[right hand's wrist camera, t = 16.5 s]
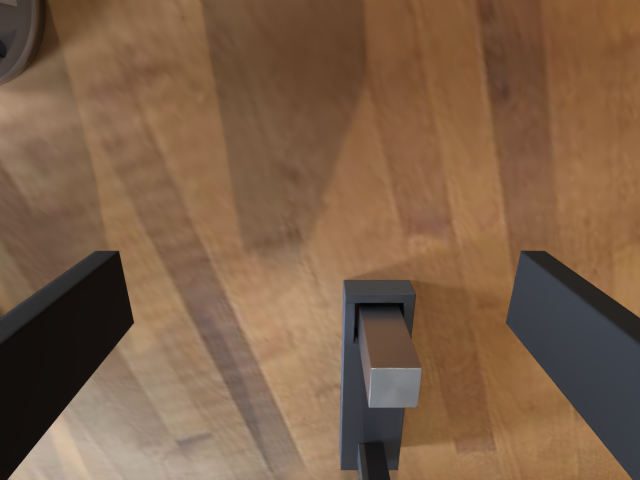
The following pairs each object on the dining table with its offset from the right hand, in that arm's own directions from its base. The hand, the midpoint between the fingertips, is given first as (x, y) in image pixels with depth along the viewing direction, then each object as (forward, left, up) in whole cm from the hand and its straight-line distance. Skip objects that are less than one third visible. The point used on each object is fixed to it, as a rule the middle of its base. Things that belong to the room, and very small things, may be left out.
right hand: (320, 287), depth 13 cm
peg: (+6, -16, -25) cm, 30 cm away
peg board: (+6, -25, -25) cm, 36 cm away
